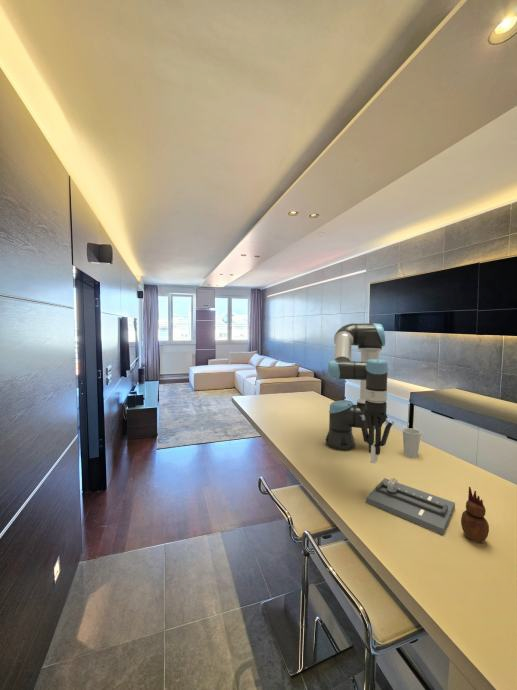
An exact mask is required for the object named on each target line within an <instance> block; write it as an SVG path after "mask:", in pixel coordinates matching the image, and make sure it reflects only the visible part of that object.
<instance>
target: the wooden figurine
mask: <svg viewBox="0 0 517 690" xmlns="http://www.w3.org/2000/svg"><path fill="white" fill-rule="evenodd" d="M467 497H468V499H467V500H466V502H465V510H463V511H462V513H461V518H460V524H461V525H460V526H461V529H462V531H463V533H464V535H465V537H466V538H468V539H469V540H471V542H472V541H473V542H475V543H478V544H479V543H483V542H485V541H486V540H487V539H488V536H489V532H490V526H489V525H490V524H489V522H488V521H487V520H488V519H486V517H485V516H486V512H487V511H486V507H485V505H484V501H483V499H480V495H477V491H476V490H474V492H472V488H471V486H468V496H467Z"/></svg>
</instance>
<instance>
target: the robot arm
mask: <svg viewBox="0 0 517 690" xmlns="http://www.w3.org/2000/svg"><path fill="white" fill-rule="evenodd" d="M384 328H385V327H384V326H383V325H382V324H381V323H375V322H374V323H372V322H371V323H370V322H369V323H368V322H367V323H366V322H365V323H354V322H353V323H348V324H346V325H343V326H341V327H340V328H339V329H337V331H336V332H335V334H334V336H333V343H334V344H335V345H334V346H335V347H334V357H333V360H329V361H328V362H327V376H328V378H330V379H336V380H358V381H360V382H359V383H360V384H359V385H360V386H359V387H360V389H359V390H360V391H359V392H360V393H359V394H360V395H359V399H357V400H356V404H354V403H353V401H351V400H348V399H347V400H346V399H345V400H343V399H342V400H336V401H333V402H331V403H330V404H329V410H328V413H329V423H328V425H329V426H328V432H327V434H326V438H325V446H326V447H328V448H329V449H332V450H336V451H340V452H341V451H343V452H347V451H351V450H354V449H355V448H356V440H355V438H354V435H353V428H356V429H361V433H362V439H363V441H364V443H367V444H368V453H370V463H372V464H377V462H378V456H380V454H381V447H384V446H386V444H387V441H388V438H389V434H390V432H391V428H392V426H394V421H391V420H390V419H389V418H388V414H387V405H388V404H387V401H388V375H389V374H388V372H389V368H388V364H389V363H388V360H386V359H381V358H379V356H380V355H379V354H380V352H381V351H382V350H383V347H385V346H386V334H385V329H384ZM352 346H357V349H358V350H359V352H360V361H357V360H356V361H354V360H352ZM383 424H385V427H384V430H383V432H382V427H383Z"/></svg>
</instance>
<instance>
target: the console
mask: <svg viewBox="0 0 517 690" xmlns="http://www.w3.org/2000/svg"><path fill="white" fill-rule="evenodd" d="M389 480H390V479H389V478H383V479H382V480H381V481H380V482H379V483H378V484H377V485H376V486H375V487H374V489H372V491H370V493H369V494H368V495H367V496H365V503H367V504H369V505H371V506H373V507H375V508H378V509H381V510H383V511H384V512H387V513H390V514H392V515H395V516H397V517H398V518H401V519H403V520H407V521H408V522H411V523H413V524H416V525H418V526H420V527H423V528H426V529H428V530H430V531H432V532H435V533H437V534H439V535H442V536H444V534H445V533H446V529H447V527H448V524H449V523H450V521H451V517H452V515H453V513H454V511H455V508H456V502H454V501H452V500H448V499H445V498H443V497H440V496H437V495H434V494H431V493H428V492H426V491H422V490H420V489H417V488H414V487H411V486H408V485H406V484H403V483H400V482H397V489H398V493H397V495H395V494H393V493H390V492H387V486H388V482H389Z"/></svg>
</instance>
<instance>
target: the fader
mask: <svg viewBox="0 0 517 690" xmlns="http://www.w3.org/2000/svg"><path fill="white" fill-rule="evenodd" d="M397 483H398V479H396V478H394V477H392V478H390V479H389V482H388V486H387V492H390V493H393V494H395V495H397V493H398V489H397Z"/></svg>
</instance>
